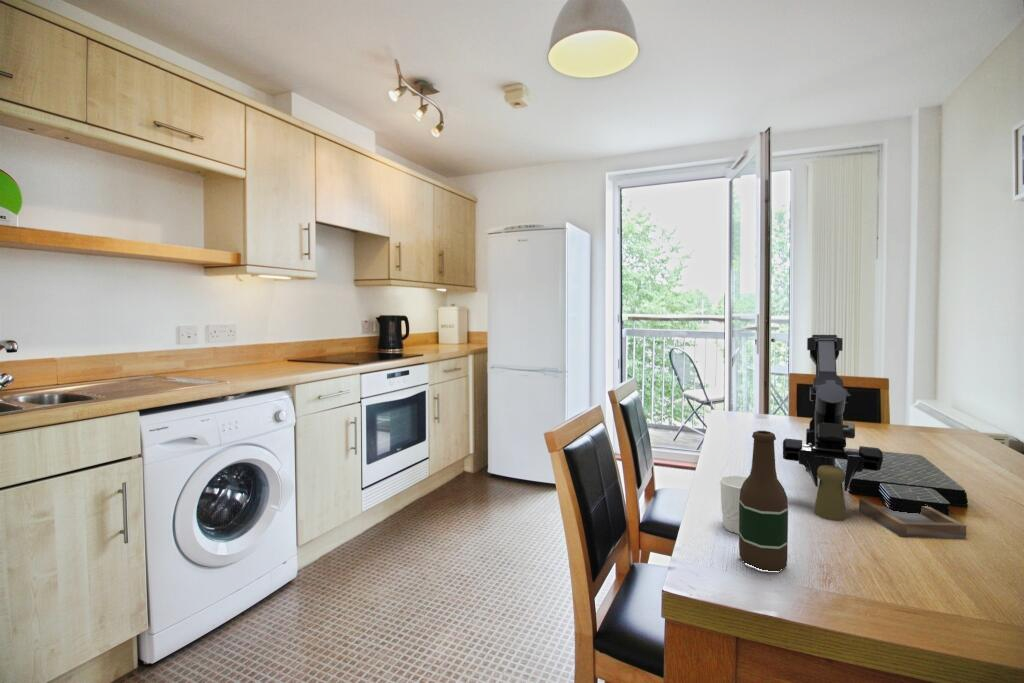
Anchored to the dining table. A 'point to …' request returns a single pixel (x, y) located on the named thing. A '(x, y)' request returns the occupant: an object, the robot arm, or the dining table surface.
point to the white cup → (731, 501)
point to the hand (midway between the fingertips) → (831, 487)
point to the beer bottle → (763, 510)
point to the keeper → (915, 522)
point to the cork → (830, 493)
